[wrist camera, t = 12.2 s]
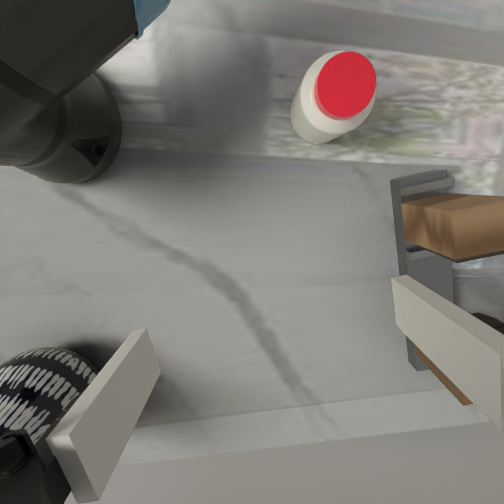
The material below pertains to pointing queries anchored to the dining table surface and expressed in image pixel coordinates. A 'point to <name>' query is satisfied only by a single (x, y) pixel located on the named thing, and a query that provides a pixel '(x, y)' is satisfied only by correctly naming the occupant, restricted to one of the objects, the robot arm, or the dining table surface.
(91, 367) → the vase
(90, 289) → the dining table surface
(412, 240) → the brown wooden block
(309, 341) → the dining table surface
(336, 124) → the pill bottle
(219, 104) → the dining table surface
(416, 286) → the robot arm
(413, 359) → the rail
